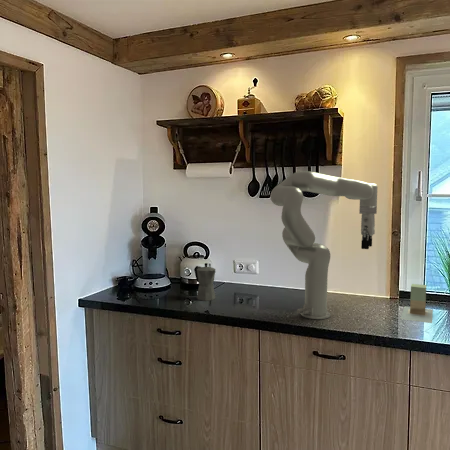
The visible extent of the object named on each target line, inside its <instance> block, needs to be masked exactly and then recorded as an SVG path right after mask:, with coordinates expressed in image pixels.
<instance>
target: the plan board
mask: <svg viewBox="0 0 450 450" xmlns="http://www.w3.org/2000/svg"><path fill="white" fill-rule="evenodd" d="M433 312H434V311H433V309H430V308H425V315H420V314H412V313H410V306H403V310H402V312H401V317H400V320H405V321H410V322H411V321H413V322H421V323H429V324H433V315H434V313H433Z"/></svg>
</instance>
